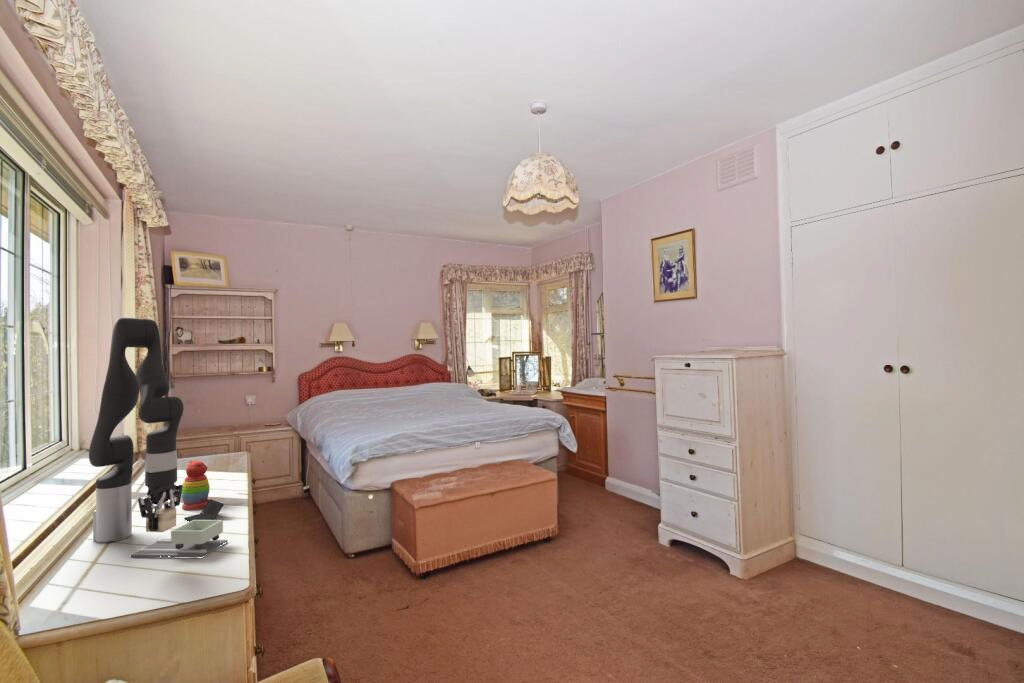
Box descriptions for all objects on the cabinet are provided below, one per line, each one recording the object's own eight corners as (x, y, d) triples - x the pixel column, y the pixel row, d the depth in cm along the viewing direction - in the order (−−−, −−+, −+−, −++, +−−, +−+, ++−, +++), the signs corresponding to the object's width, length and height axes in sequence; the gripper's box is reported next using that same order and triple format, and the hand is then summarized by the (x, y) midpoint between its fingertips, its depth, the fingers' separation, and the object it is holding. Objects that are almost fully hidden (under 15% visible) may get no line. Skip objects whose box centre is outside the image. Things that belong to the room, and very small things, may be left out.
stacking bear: (217, 505, 197) (216, 460, 197) (189, 512, 188) (189, 465, 188) (203, 500, 203) (203, 457, 203) (175, 507, 194) (175, 462, 194)
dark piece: (177, 517, 178) (197, 491, 183) (193, 524, 184) (211, 498, 189) (196, 526, 173) (216, 499, 178) (212, 533, 178) (230, 507, 183)
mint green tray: (171, 550, 148) (171, 531, 148) (194, 538, 158) (193, 519, 158) (201, 550, 147) (201, 531, 147) (222, 538, 157) (222, 520, 157)
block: (146, 531, 140) (146, 513, 140) (159, 525, 144) (159, 507, 144) (162, 532, 139) (162, 514, 139) (176, 525, 144) (176, 508, 144)
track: (130, 557, 148) (130, 552, 148) (161, 541, 160) (161, 537, 160) (201, 558, 146) (201, 553, 146) (227, 542, 158) (227, 537, 158)
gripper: (168, 461, 149) (168, 517, 149) (127, 473, 135) (127, 536, 135) (191, 461, 149) (191, 518, 149) (154, 474, 134) (154, 537, 134)
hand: (161, 526), depth 142 cm, fingers closed on block, 5 cm apart
